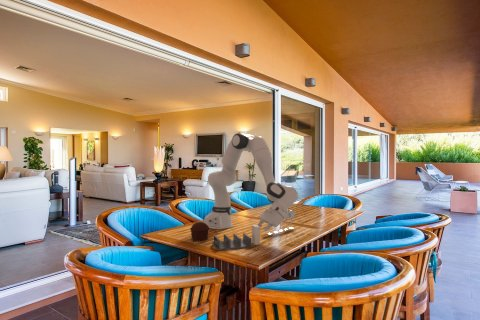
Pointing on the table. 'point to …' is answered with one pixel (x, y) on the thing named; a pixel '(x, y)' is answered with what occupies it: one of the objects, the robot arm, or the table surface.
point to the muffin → (199, 231)
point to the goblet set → (289, 214)
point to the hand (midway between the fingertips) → (261, 228)
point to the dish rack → (232, 242)
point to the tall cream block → (256, 234)
